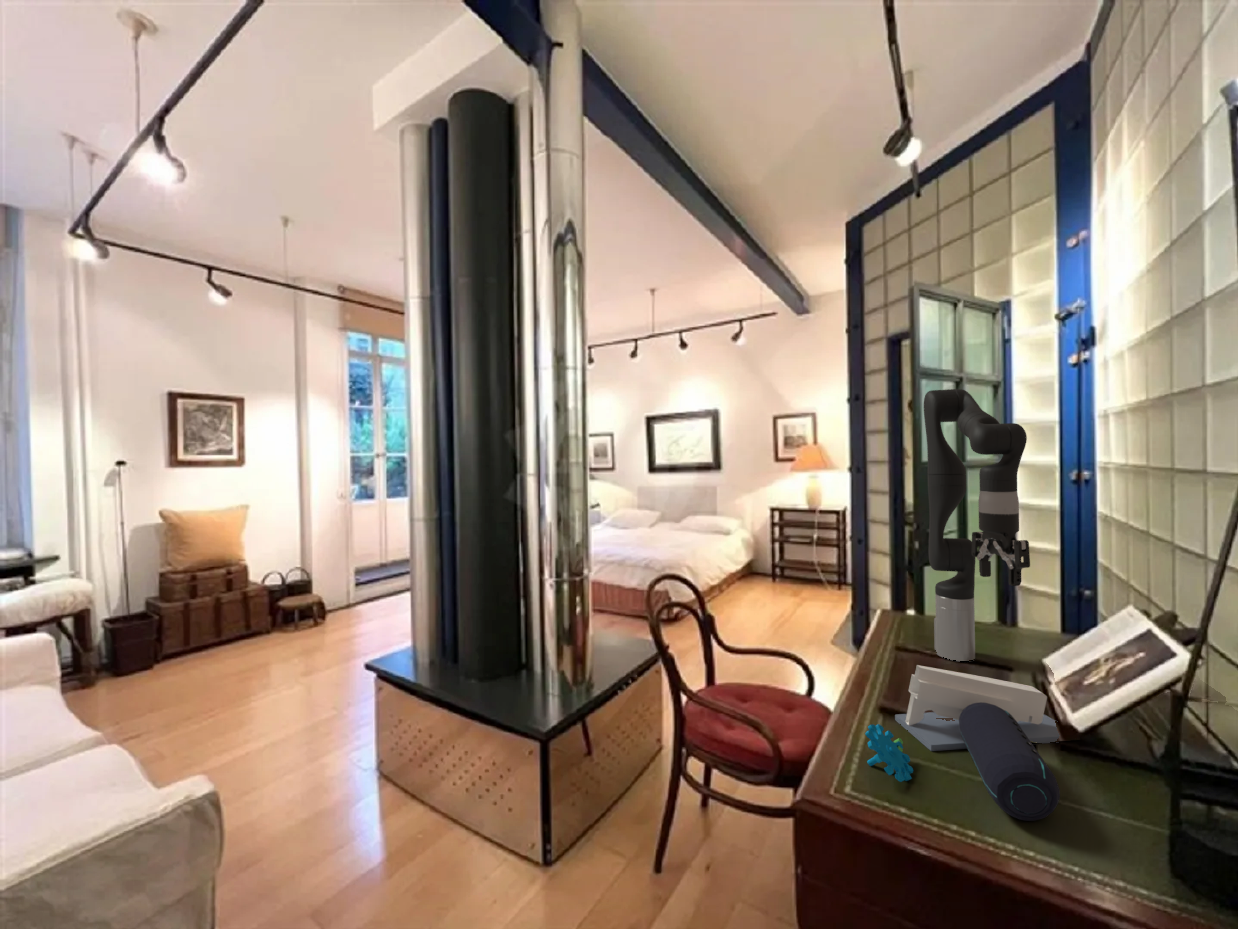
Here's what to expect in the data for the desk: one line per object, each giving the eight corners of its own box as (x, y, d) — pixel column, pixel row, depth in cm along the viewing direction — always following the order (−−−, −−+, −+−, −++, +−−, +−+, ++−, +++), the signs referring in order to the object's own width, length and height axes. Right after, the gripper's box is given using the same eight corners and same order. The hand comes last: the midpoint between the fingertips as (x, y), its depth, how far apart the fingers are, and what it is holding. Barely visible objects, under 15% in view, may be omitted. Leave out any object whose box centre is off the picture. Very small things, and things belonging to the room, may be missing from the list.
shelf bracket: (900, 717, 113) (912, 661, 113) (1020, 741, 112) (1032, 684, 111) (913, 731, 108) (924, 671, 107) (1039, 757, 106) (1051, 696, 106)
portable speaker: (1070, 839, 79) (1069, 774, 79) (991, 824, 83) (990, 762, 83) (1014, 750, 103) (1013, 699, 102) (955, 741, 106) (954, 692, 106)
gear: (902, 786, 90) (862, 728, 96) (876, 800, 93) (839, 743, 99) (926, 768, 97) (887, 715, 103) (901, 781, 100) (865, 729, 106)
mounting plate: (895, 720, 115) (895, 714, 115) (1029, 711, 117) (1029, 706, 117) (931, 751, 103) (931, 745, 103) (1080, 740, 105) (1080, 735, 105)
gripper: (1040, 513, 113) (1041, 588, 114) (990, 506, 128) (991, 573, 128) (1007, 515, 113) (1008, 589, 113) (960, 508, 127) (961, 574, 128)
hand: (999, 580), depth 121 cm, fingers open, 8 cm apart
